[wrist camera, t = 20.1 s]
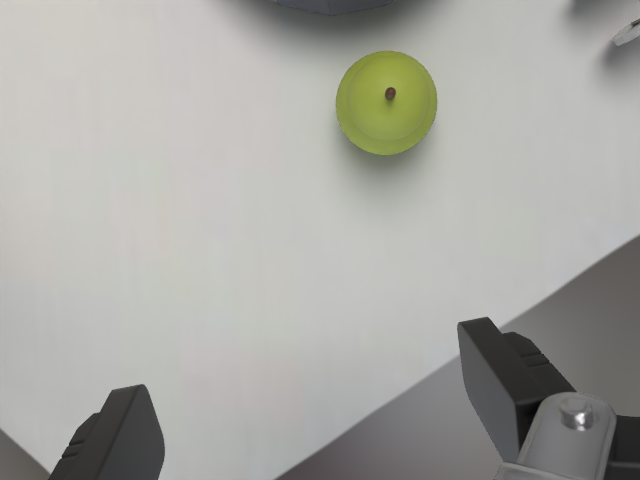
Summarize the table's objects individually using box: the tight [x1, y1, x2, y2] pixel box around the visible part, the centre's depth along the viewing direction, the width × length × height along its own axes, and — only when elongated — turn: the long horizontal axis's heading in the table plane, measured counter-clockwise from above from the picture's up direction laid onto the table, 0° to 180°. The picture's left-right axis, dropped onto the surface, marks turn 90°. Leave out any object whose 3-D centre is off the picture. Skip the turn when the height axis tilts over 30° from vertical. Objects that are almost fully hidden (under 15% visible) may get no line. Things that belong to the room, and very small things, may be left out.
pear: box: [336, 51, 437, 155], centre depth 31 cm, size 6×6×10 cm
